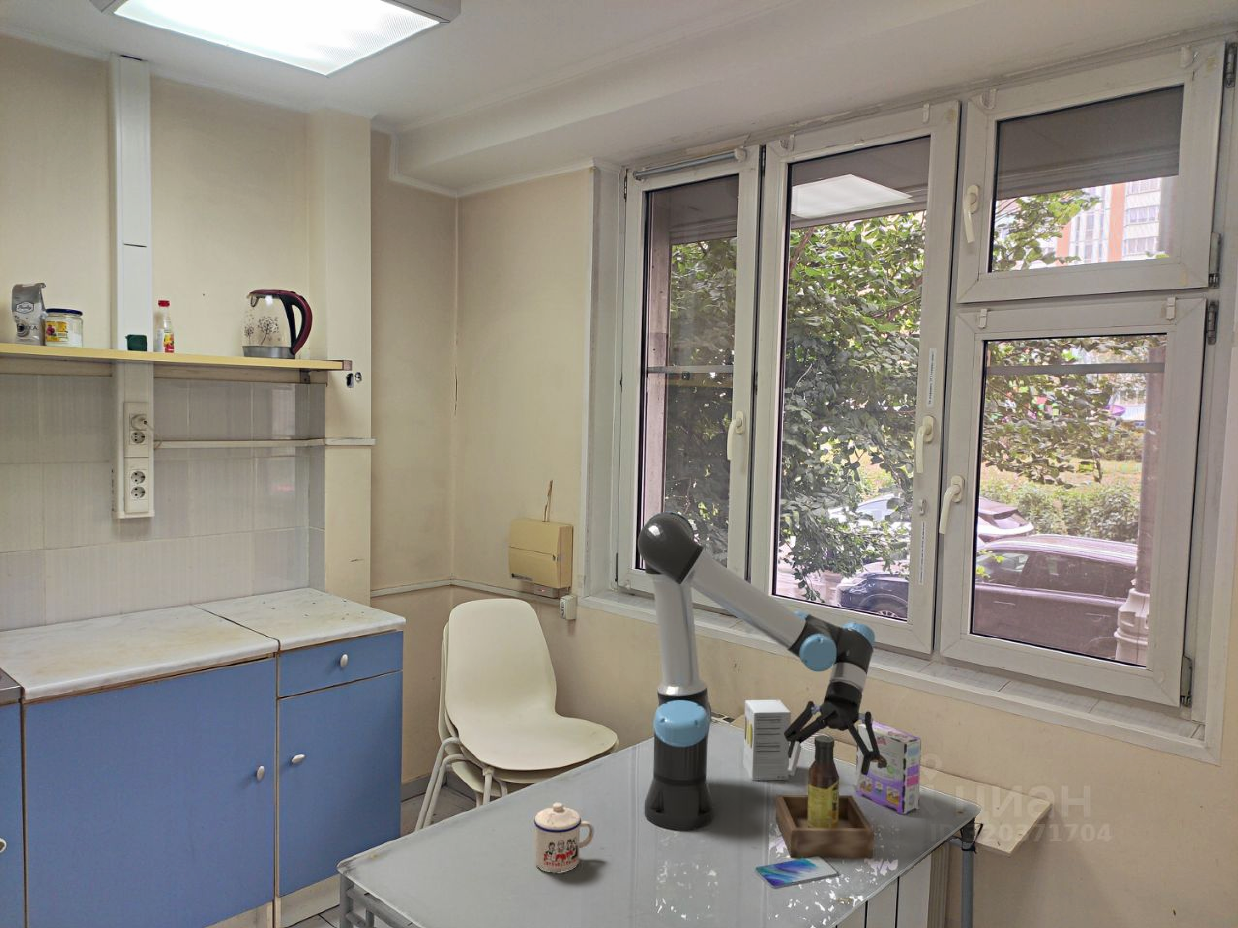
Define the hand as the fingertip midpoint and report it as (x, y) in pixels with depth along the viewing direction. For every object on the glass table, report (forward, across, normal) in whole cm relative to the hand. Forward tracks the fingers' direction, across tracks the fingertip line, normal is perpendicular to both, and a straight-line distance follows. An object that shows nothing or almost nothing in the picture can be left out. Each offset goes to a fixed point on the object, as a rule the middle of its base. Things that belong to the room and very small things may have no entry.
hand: (822, 780), depth 183 cm
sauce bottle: (+7, 0, -10) cm, 12 cm away
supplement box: (-10, +22, -28) cm, 37 cm away
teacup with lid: (+34, +40, +15) cm, 55 cm away
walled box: (+8, 0, -10) cm, 13 cm away
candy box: (-10, -7, -28) cm, 31 cm away
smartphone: (+20, 0, +1) cm, 20 cm away
